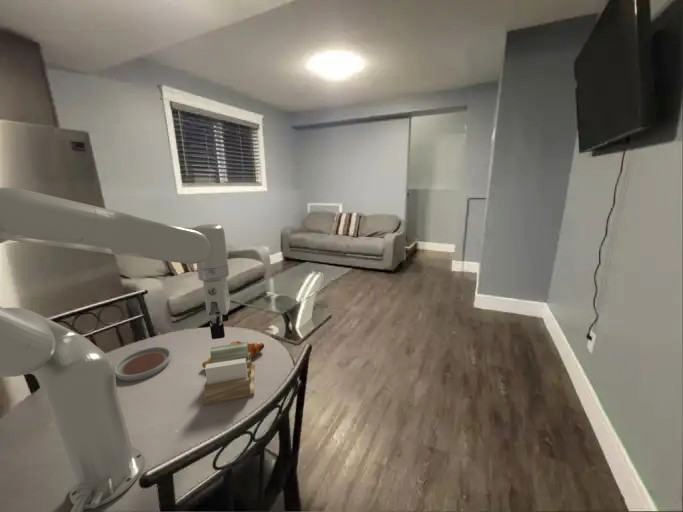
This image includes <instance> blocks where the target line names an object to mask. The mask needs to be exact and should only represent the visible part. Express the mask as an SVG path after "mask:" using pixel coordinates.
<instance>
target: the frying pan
mask: <svg viewBox="0 0 683 512" xmlns="http://www.w3.org/2000/svg"><path fill="white" fill-rule="evenodd" d="M172 357H173V353H172V351H171V350H170V349H169V348H167V347H164V346H154V347H153V346H152V347H147V348H144V349H140V350H137V351H134V352H132V353H129V354H128V355H126V356H125V357H123V358H122V359H120V360H119V361H118V362H117V364H116V365H115V366H114V369H115V375H116V378H117V379H118V380H121V381H122V382H123V381H124V382H134V381H140V380H143V379H146V378H150V377H151V376H154V375H157V374H158V373H159V372H161V371H163V370H164V369H165V368H166V367H168V366H169V364H170V362H171V359H172Z"/></svg>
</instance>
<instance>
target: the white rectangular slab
mask: <svg viewBox="0 0 683 512" xmlns="http://www.w3.org/2000/svg"><path fill="white" fill-rule="evenodd" d="M204 372H205V378H206V385H211V384H216V383H222V382H227V381H233V380H238V379H244V378H248V372H247V364H246V358H243V359H237V360H231V361H224V362H218V363H211V364H206V367H205V368H204Z"/></svg>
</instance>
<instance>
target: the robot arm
mask: <svg viewBox="0 0 683 512" xmlns="http://www.w3.org/2000/svg"><path fill="white" fill-rule="evenodd" d="M7 241H13V242H20V243H26V244H33V245H40V246H41V245H42V246H49V247H50V246H51V247H59V248H66V249H75V250H82V251H89V252H96V253H103V254H109V255H113V256H114V255H116V256H117V255H118V256H122V257H123V256H124V257H126V256H127V257H136V258H142V259H148V260H155V261H156V260H157V261H163V262H171V263H180V264H186V265H194V264H195V265H196V271H197V276H198V280H199V281H202V283H203V292H204V304H205V310H206V315H207V316H208V317H209V329H210V337H211V340H218V339H224V338H225V335H226V333H225V327H224V326H225V325H224V323H223V322H228V321H229V310H230V305H231V297H230V292H229V291H230V290H229V284H228V277H229V276H230V272H229V262H228V254H227V245H226V234H225V229H224V227H223V226H221V225H219V224H201V225H196V226H193V227H189V226H188V227H179V226H175V225H171V224H166V223H163V222H162V223H161V222H159V221H158V222H157V221H153V220H149V219H145V218H141V217H139V216H135V215H132V214H129V213H125V212H122V211H117V210H114V209H110V208H104V207H101V206H96V205H92V204H87V203H84V202H80V201H79V202H78V201H76V200H75V201H74V200H70V199H66V198H61V197H58V196H54V195H49V194H46V193H45V194H44V193H41V192H37V191H32V190H27V189H22V188H16V187H0V244H3V243H4V242H7ZM114 368H115V366H114V363H113V362H112V360H111V359H110V357H109V356H108V355H107V354H106V353H105V352H104V351H103V350H101V348H99V347H98V346H97V345H95V344H94V343H93V342H92V341H91V340H89V339H88V338H86V337H85V336H83V335H81V334H80V333H77V332H75V331H74V330H71V329H69V328H67V327H65V326H63V325H61V324H59V323H57V322H55V321H53V320H51V319H49V318H48V317H45V316H44V315H41V314H39V313H37V312H34V311H33V310H30V309H26V308H21V307H2V306H0V377H2V378H3V377H4V378H5V377H6V378H7V377H8V378H9V377H10V378H11V377H13V378H15V377H20V376H26V375H30V374H31V375H32V376H35V377H36V379H37V380H38V383H40V386H41V387H42V388H43V390H44V393H45V394H46V396H47V398H48V401H49V403H50V406H51V412H52V414H53V418H54V420H55V424H56V427H57V430H58V433H59V436H60V438H61V442H62V443H63V446H64V450H65V453H66V456H67V458H68V461H69V464H70V467H71V470H72V472H73V476H74V479H75V480H74V482H73V483H72V485H71V487H70V490H69V499H70V502H71V505H73V507H72V509H71V510H70V512H84V510H89V509H96V508H98V507H101V506H103V505H105V504H108V503H109V502H111V501H113V500H114V499H116V498H117V497H119V496H120V495H122V494H123V493H125V491H127V490H128V489H129V488H130V487H131V486H132V485H133V484H134V483H135V482H136V480H137V479H138V477H139V476H140V475H141V473H142V471H143V468H144V466H145V457H144V454H143V452H142V451H141V450H140V449H139V448H137V447H133V446H132V443H131V438H130V435H129V431H128V427H127V423H126V420H125V416H124V411H123V408H122V405H121V402H120V399H119V397H120V396H119V393H118V390H117V389H118V388H117V377H116V375H115V369H114Z"/></svg>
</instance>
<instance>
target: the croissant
mask: <svg viewBox="0 0 683 512" xmlns="http://www.w3.org/2000/svg"><path fill="white" fill-rule="evenodd" d="M238 343H245V341H243V342H242V341H239V340H238V341H237V340H235V341H232V342H230V343H229V344H228V345H231V344H238ZM247 345H248V353H249V352H250V353H251V359H252V358H253V357H255V356H257V355H258V354H260V352H262V350H263V349H265V344H264V343H263V342H260V343H257V342H252V343H249V342H247ZM211 363H212V360H211V356H210V357H209V358H208V359H207V360H205V361H203V362H202V364H201V367H202V368H204V369H205V367H206V364H211Z"/></svg>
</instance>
